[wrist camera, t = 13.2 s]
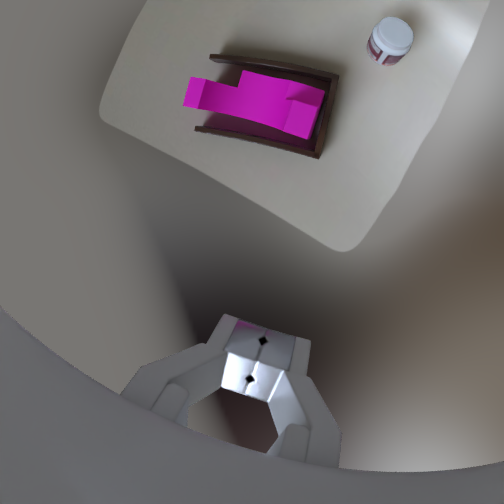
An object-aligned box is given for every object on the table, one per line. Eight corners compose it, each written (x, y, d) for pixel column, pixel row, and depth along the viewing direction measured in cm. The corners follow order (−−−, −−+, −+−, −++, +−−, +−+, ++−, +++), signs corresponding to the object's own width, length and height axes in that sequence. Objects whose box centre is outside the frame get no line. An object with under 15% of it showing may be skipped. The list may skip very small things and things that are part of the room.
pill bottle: (403, 45, 25) (421, 26, 18) (394, 72, 27) (411, 57, 20) (371, 30, 25) (381, 7, 18) (361, 57, 28) (370, 37, 20)
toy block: (324, 95, 31) (324, 86, 25) (310, 138, 34) (306, 139, 28) (219, 68, 33) (196, 58, 26) (207, 108, 36) (182, 105, 29)
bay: (216, 57, 32) (210, 53, 30) (338, 78, 30) (339, 75, 28) (201, 130, 37) (194, 131, 35) (319, 157, 35) (319, 159, 33)
